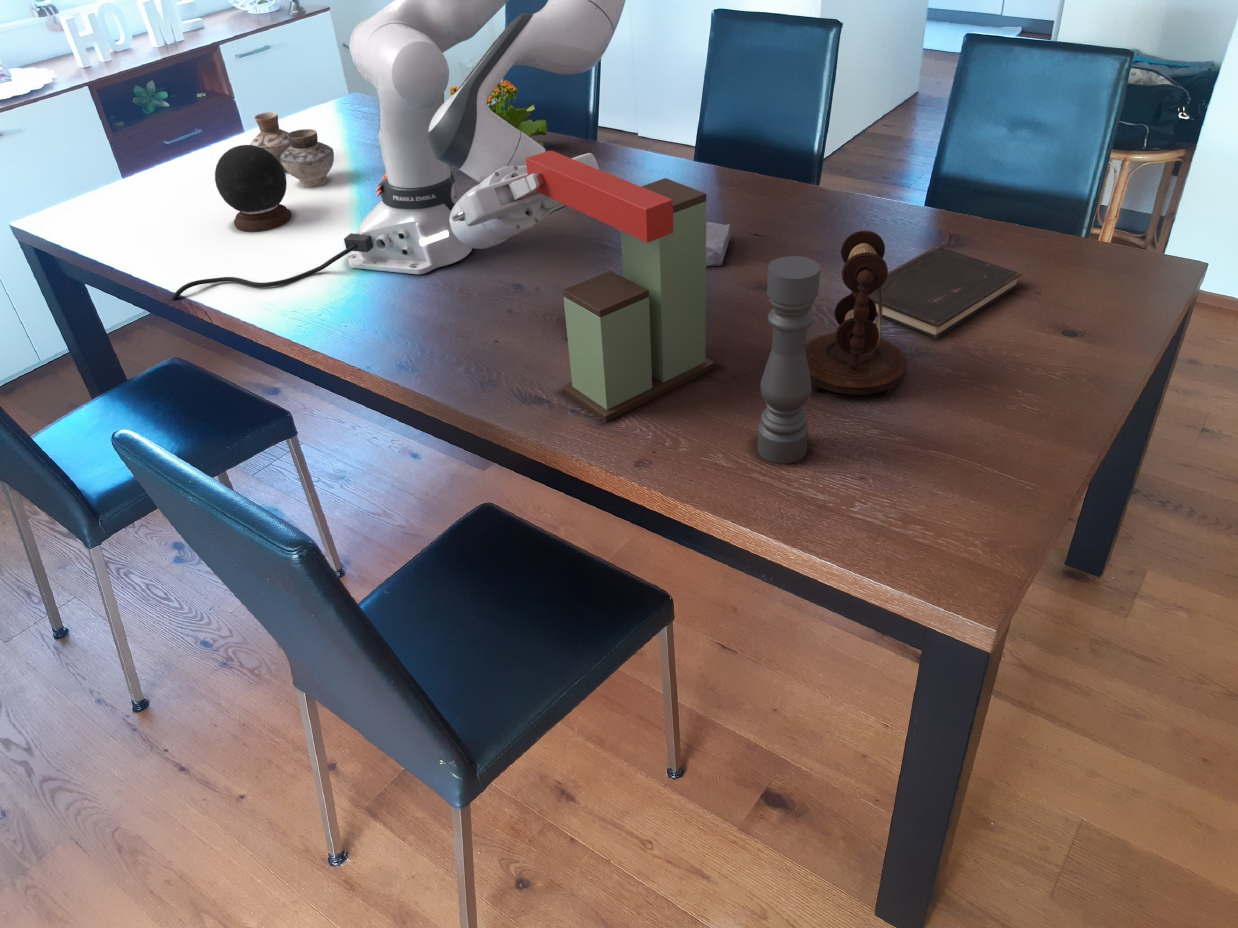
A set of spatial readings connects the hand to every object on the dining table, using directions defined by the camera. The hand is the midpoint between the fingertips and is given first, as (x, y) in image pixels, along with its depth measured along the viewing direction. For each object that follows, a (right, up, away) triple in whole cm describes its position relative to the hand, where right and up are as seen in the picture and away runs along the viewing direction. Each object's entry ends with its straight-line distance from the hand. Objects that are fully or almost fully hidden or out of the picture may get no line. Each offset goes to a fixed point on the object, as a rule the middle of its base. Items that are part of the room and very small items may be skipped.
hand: (556, 173), depth 116 cm
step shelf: (+11, -25, +14) cm, 31 cm away
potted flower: (-20, +29, +88) cm, 95 cm away
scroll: (+41, -25, +12) cm, 49 cm away
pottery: (-64, +28, +89) cm, 113 cm away
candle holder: (+29, -35, 0) cm, 45 cm away
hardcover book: (+58, -10, +29) cm, 66 cm away
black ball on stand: (-64, +12, +69) cm, 95 cm away
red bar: (+5, -6, -4) cm, 9 cm away
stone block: (+22, 0, +47) cm, 52 cm away
